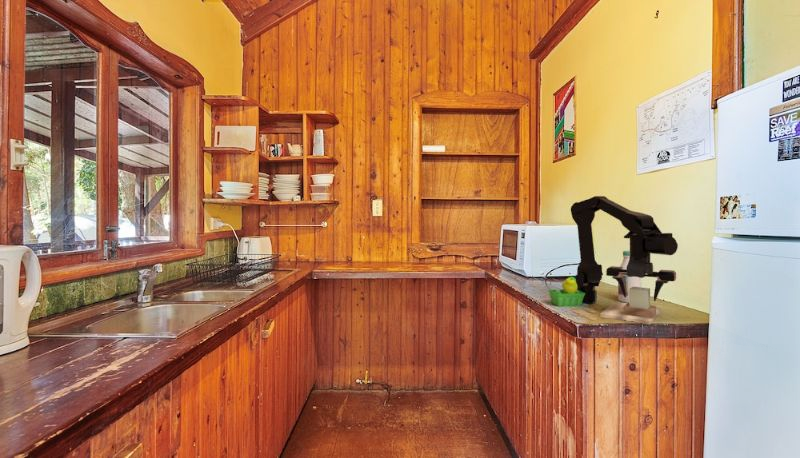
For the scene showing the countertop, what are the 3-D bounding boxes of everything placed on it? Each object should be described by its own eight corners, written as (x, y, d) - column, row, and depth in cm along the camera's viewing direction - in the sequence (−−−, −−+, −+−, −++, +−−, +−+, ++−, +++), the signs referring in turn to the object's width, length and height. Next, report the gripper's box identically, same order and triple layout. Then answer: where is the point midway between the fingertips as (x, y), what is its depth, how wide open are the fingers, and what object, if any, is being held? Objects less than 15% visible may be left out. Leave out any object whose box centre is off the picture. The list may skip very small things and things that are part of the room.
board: (599, 316, 119) (599, 313, 119) (615, 304, 135) (615, 301, 135) (650, 324, 109) (650, 321, 109) (660, 310, 125) (660, 307, 125)
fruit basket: (575, 301, 140) (575, 273, 140) (588, 307, 132) (588, 277, 131) (547, 302, 140) (547, 274, 139) (558, 308, 131) (558, 278, 131)
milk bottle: (639, 300, 141) (639, 250, 141) (643, 304, 134) (643, 252, 134) (616, 298, 144) (616, 250, 144) (619, 302, 137) (619, 251, 137)
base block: (623, 314, 118) (623, 306, 118) (628, 309, 123) (628, 302, 123) (652, 318, 112) (652, 310, 112) (656, 313, 118) (656, 306, 118)
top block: (629, 306, 118) (629, 288, 117) (632, 303, 121) (632, 286, 121) (647, 309, 114) (647, 290, 114) (650, 306, 118) (650, 288, 118)
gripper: (601, 252, 118) (601, 299, 118) (672, 256, 105) (671, 308, 105) (610, 250, 126) (610, 293, 126) (676, 253, 113) (676, 301, 113)
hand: (639, 299), depth 118 cm, fingers open, 8 cm apart
